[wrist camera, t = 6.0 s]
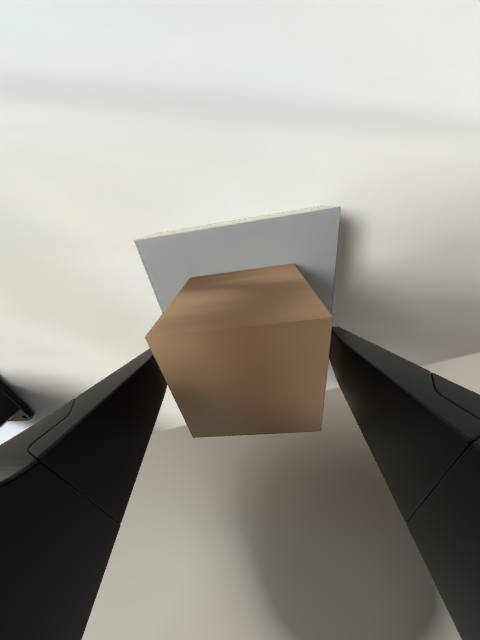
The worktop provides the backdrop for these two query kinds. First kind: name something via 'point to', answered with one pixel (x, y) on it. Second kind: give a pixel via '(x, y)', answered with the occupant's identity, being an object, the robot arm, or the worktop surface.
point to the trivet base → (246, 250)
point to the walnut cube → (246, 352)
